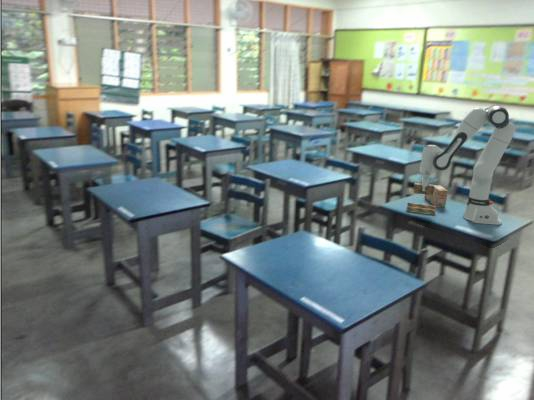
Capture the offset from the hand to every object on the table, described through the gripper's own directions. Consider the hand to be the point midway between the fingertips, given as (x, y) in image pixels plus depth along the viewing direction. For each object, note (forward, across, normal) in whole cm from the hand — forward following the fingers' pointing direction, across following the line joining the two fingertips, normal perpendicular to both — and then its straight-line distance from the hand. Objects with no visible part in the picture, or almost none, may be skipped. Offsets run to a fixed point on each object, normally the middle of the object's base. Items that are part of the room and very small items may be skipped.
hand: (423, 189), depth 290 cm
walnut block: (+2, 0, 0) cm, 2 cm away
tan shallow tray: (+14, 0, 0) cm, 15 cm away
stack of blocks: (+15, +24, -9) cm, 30 cm away
